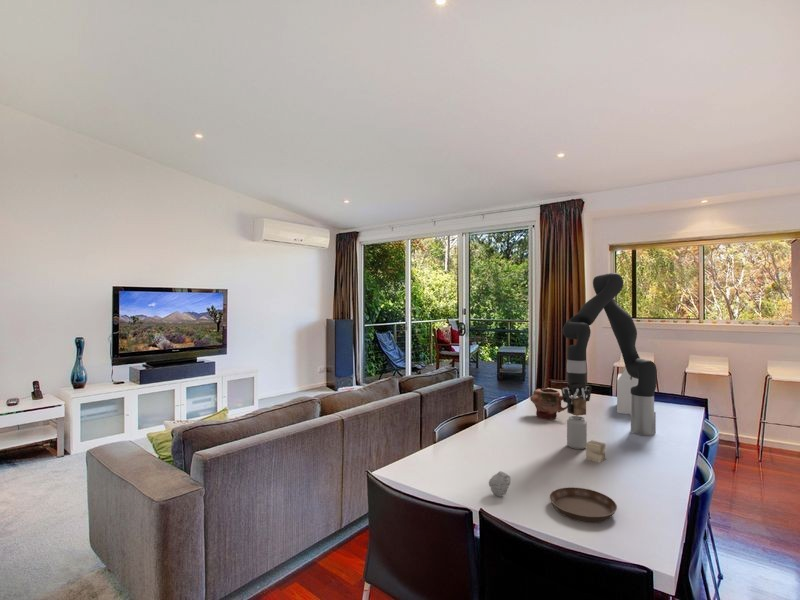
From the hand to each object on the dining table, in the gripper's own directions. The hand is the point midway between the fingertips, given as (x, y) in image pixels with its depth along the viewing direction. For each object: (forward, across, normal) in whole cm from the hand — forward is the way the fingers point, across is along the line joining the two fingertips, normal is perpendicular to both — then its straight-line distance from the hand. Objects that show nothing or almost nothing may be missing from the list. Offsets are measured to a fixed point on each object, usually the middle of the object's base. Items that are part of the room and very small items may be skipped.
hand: (576, 412), depth 173 cm
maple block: (+14, +3, +13) cm, 20 cm away
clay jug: (+14, -19, -39) cm, 46 cm away
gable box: (+14, -71, -36) cm, 81 cm away
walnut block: (0, 0, 0) cm, 0 cm away
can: (+14, 0, 0) cm, 14 cm away
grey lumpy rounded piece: (+14, +54, +26) cm, 62 cm away
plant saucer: (+15, +37, +42) cm, 58 cm away
